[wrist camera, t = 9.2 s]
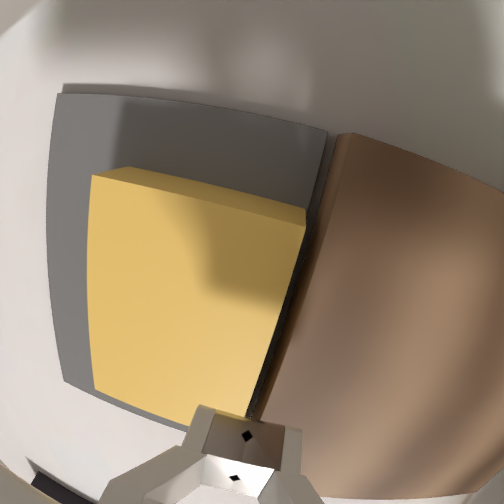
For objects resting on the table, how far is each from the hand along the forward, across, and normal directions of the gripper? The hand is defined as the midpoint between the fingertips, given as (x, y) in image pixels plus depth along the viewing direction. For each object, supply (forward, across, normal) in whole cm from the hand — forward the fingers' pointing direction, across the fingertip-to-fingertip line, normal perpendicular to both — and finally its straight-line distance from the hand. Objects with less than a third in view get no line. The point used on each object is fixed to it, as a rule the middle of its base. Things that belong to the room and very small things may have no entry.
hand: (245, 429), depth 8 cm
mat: (+6, +6, 0) cm, 8 cm away
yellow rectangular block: (+5, +3, 0) cm, 6 cm away
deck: (+6, -9, 0) cm, 10 cm away
